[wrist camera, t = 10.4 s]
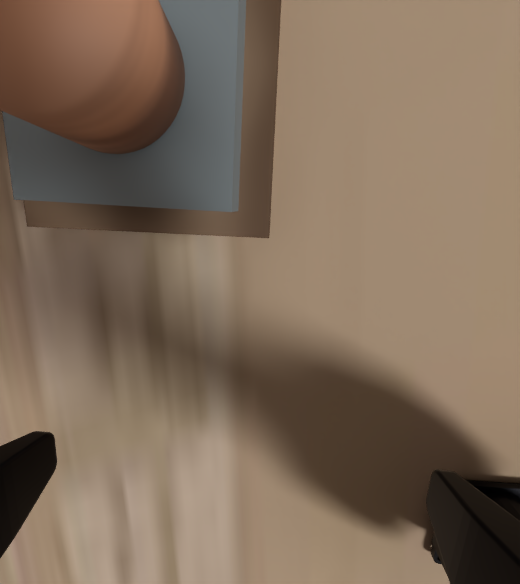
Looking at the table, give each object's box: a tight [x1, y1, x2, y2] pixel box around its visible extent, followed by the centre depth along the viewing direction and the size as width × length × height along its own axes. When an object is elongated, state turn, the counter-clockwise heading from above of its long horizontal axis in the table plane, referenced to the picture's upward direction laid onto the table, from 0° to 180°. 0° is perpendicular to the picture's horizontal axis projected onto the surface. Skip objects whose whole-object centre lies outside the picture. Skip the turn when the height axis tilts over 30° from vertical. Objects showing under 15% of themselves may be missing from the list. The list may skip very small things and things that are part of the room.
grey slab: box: [2, 0, 246, 212], centre depth 13 cm, size 9×9×2 cm
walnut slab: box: [24, 0, 281, 238], centre depth 16 cm, size 12×12×2 cm
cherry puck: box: [0, 0, 185, 154], centre depth 10 cm, size 6×6×5 cm
